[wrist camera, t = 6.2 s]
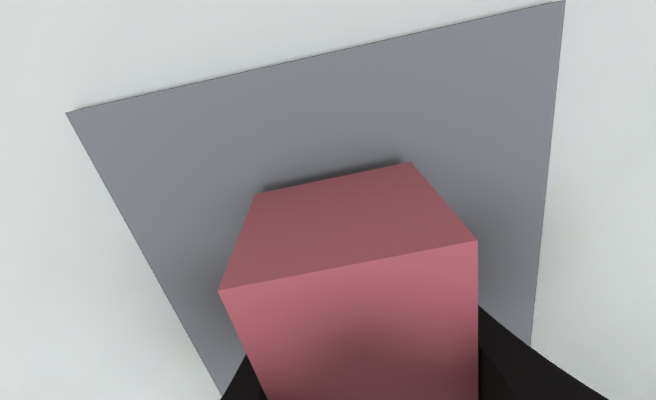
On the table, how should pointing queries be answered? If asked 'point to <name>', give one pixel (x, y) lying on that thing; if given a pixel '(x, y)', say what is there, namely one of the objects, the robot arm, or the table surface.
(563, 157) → the table surface
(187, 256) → the desk mat
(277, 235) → the pink and white block
